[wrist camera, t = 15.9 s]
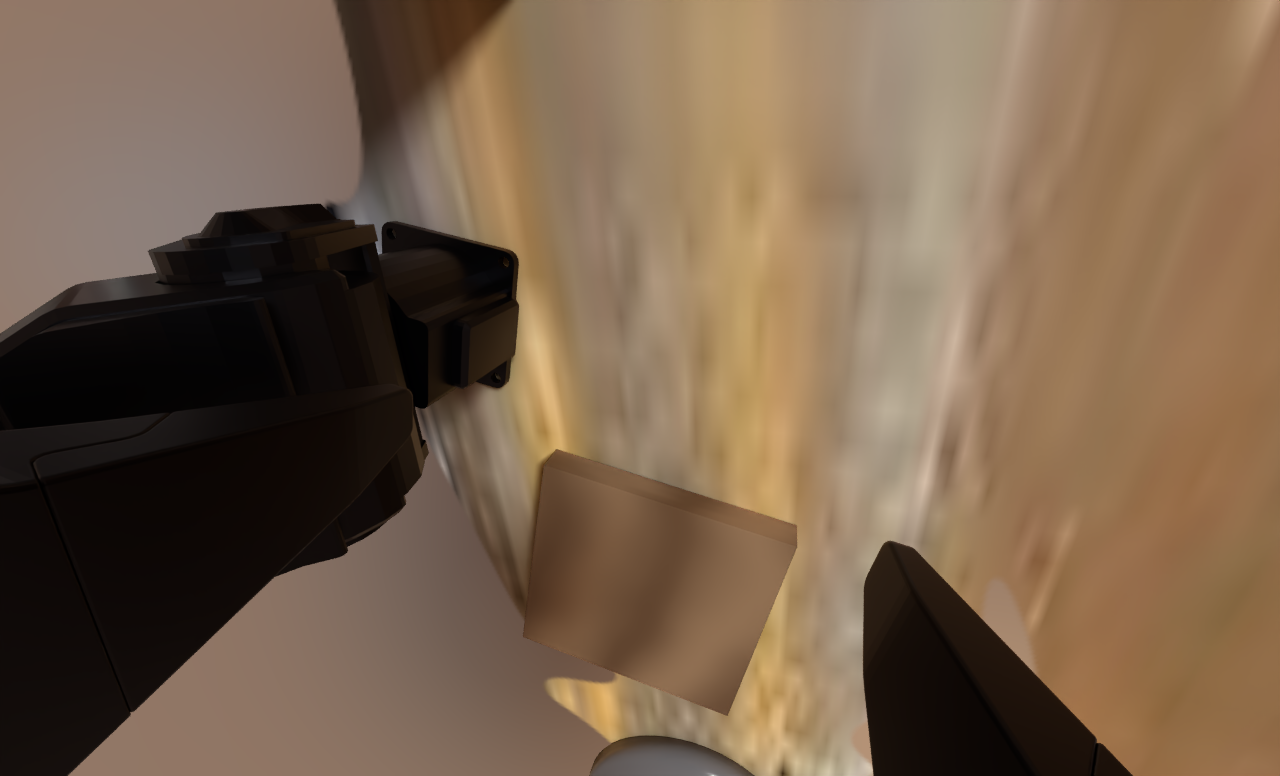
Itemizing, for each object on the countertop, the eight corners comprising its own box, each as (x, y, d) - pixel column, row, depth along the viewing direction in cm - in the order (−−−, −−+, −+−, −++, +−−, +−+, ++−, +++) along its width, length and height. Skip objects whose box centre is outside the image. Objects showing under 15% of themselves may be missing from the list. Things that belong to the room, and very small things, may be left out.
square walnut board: (534, 616, 31) (522, 636, 30) (556, 449, 26) (543, 464, 24) (730, 690, 29) (727, 715, 28) (796, 525, 24) (797, 546, 23)
